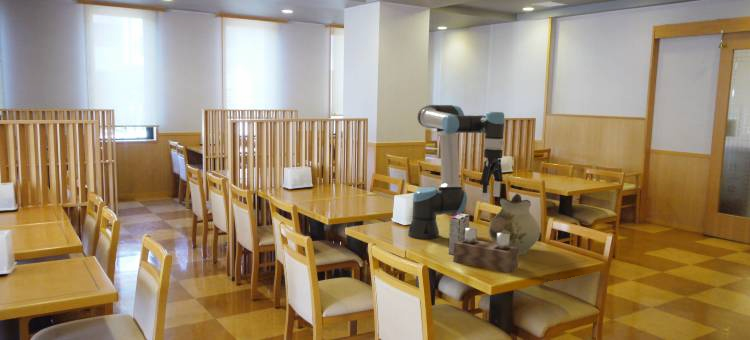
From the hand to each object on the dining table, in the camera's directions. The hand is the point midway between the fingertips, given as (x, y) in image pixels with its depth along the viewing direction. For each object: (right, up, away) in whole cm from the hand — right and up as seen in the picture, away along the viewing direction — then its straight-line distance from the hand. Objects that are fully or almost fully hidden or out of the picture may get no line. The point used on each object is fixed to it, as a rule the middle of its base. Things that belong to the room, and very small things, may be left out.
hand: (490, 198), depth 243 cm
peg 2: (+2, -21, -12) cm, 24 cm away
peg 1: (-10, -20, -5) cm, 22 cm away
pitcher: (+12, -25, +15) cm, 31 cm away
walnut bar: (-4, -27, -8) cm, 28 cm away
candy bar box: (-12, -24, +10) cm, 29 cm away
